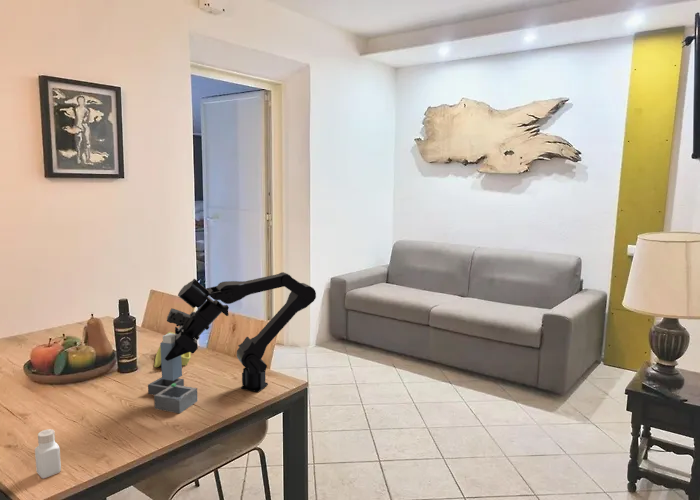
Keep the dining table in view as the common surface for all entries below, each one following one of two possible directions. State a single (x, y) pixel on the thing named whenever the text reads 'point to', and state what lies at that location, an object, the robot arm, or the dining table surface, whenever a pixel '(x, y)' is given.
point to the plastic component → (184, 357)
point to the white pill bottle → (47, 454)
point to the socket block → (175, 398)
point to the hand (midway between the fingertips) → (166, 356)
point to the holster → (162, 385)
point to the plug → (173, 366)
